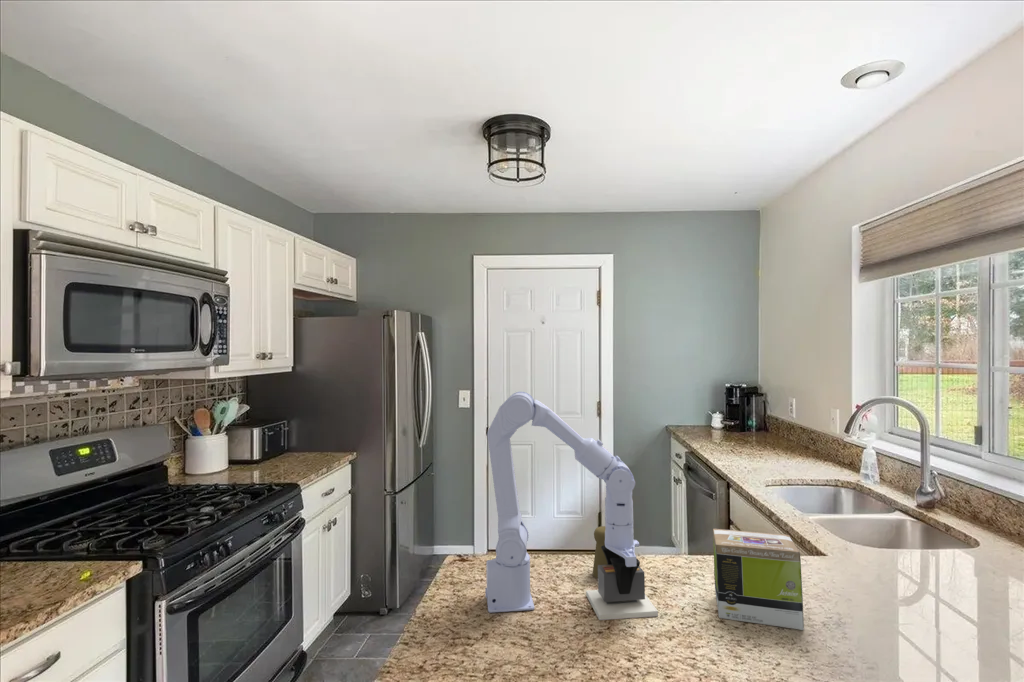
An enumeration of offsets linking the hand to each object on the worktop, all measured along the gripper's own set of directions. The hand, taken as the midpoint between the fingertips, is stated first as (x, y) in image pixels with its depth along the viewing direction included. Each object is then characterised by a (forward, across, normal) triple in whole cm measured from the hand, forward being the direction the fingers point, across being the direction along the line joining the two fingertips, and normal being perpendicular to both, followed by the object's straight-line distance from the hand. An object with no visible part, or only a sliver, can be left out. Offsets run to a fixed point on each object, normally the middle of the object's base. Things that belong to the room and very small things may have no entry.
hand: (620, 587), depth 101 cm
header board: (+4, 0, 0) cm, 4 cm away
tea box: (+4, -6, -26) cm, 27 cm away
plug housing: (+2, 0, 0) cm, 2 cm away
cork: (+4, +14, -1) cm, 15 cm away
